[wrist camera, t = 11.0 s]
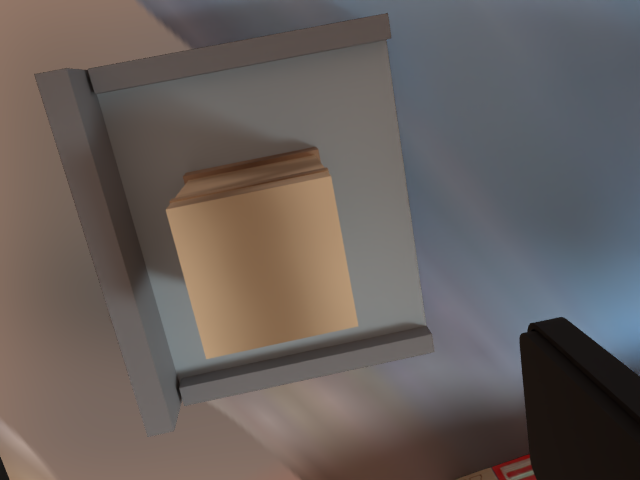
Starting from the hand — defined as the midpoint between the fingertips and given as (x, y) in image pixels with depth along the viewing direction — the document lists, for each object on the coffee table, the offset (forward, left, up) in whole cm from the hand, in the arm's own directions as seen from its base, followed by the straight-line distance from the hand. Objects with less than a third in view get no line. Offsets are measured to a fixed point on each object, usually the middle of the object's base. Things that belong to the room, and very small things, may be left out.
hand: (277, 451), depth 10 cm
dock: (0, 0, -20) cm, 20 cm away
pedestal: (0, 0, -17) cm, 17 cm away
